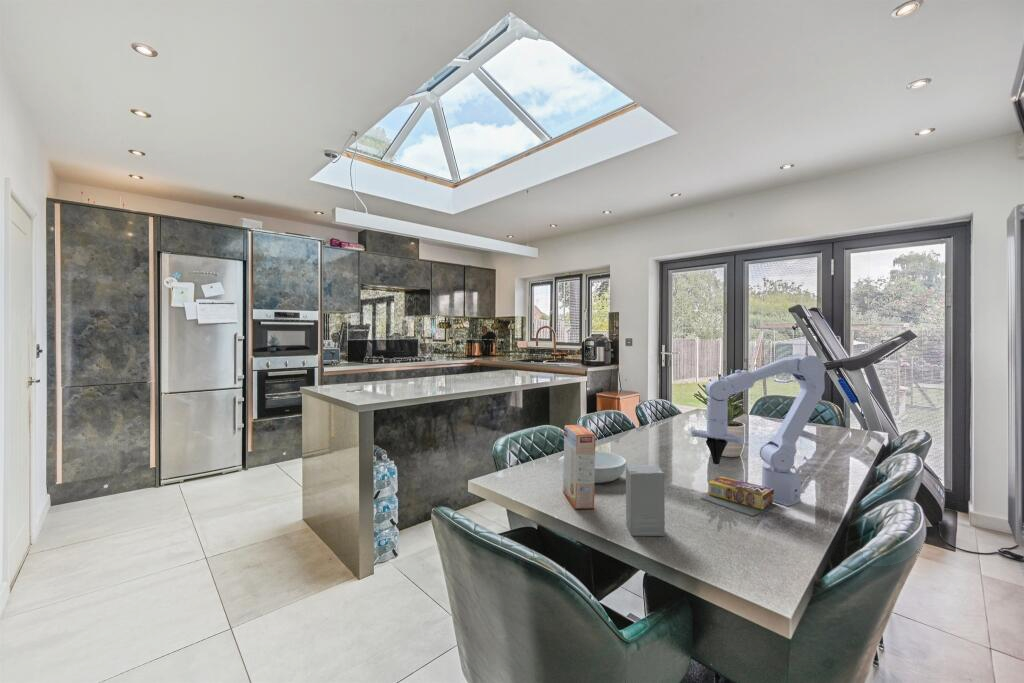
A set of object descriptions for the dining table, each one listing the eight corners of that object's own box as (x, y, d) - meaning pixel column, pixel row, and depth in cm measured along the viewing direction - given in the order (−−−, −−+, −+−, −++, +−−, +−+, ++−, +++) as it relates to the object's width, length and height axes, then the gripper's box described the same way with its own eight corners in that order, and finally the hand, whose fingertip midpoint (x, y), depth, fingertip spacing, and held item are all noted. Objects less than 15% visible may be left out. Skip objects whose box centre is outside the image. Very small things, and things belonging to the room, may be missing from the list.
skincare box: (657, 525, 110) (658, 463, 109) (665, 538, 102) (666, 472, 102) (623, 524, 110) (624, 462, 110) (629, 537, 103) (630, 471, 103)
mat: (778, 506, 124) (778, 505, 124) (752, 516, 116) (752, 515, 116) (727, 490, 136) (727, 489, 136) (701, 498, 128) (701, 497, 128)
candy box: (707, 496, 131) (762, 510, 119) (707, 481, 131) (762, 494, 119) (720, 489, 137) (774, 502, 125) (720, 475, 137) (774, 487, 125)
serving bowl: (560, 468, 157) (561, 449, 157) (618, 470, 156) (619, 451, 156) (565, 488, 136) (566, 466, 136) (632, 490, 135) (632, 468, 135)
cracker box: (595, 509, 120) (596, 434, 120) (574, 510, 119) (575, 434, 119) (581, 491, 134) (582, 424, 133) (562, 492, 133) (563, 424, 133)
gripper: (746, 420, 131) (745, 465, 131) (697, 414, 141) (696, 456, 141) (740, 423, 126) (740, 470, 126) (689, 417, 135) (689, 460, 135)
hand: (716, 463), depth 133 cm, fingers closed
